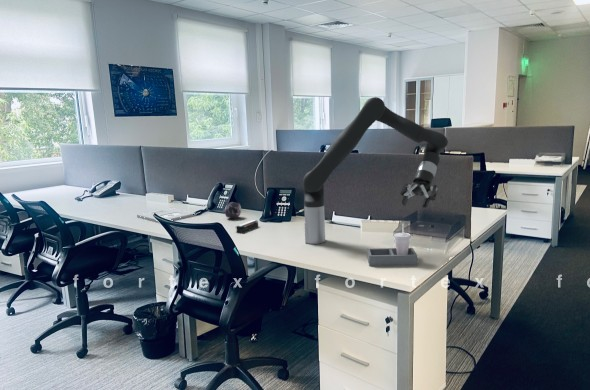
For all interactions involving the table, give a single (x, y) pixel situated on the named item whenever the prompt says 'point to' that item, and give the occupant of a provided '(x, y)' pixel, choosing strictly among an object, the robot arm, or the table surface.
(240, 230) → the dark brown flat block
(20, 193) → the table surface
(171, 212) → the award plaque
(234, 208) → the mineral specimen
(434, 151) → the robot arm
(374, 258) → the caddy
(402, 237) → the smoothie
